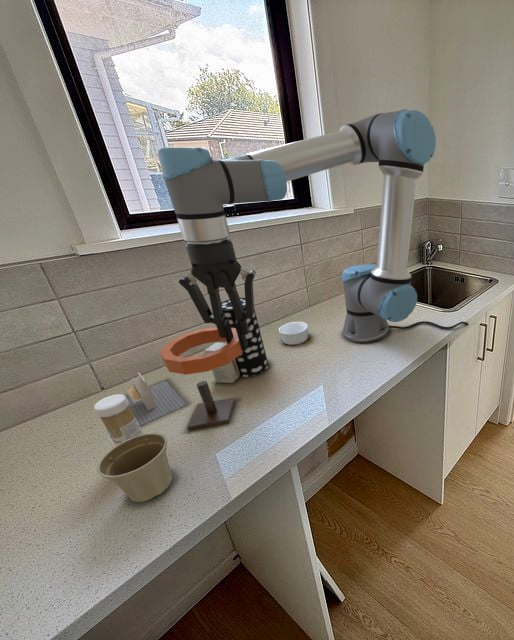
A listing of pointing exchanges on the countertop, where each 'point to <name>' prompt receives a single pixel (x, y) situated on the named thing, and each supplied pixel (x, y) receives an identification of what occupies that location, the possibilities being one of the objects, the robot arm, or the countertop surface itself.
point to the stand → (210, 409)
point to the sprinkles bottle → (118, 418)
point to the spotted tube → (254, 355)
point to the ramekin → (294, 332)
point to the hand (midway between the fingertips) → (239, 348)
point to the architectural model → (151, 400)
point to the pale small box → (224, 366)
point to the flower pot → (138, 466)
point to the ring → (201, 361)
